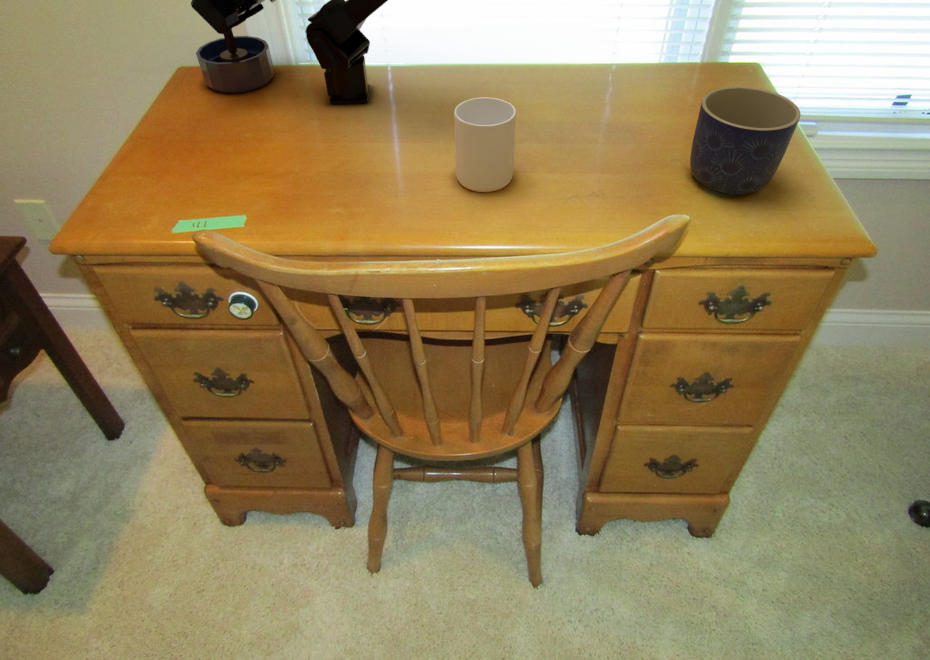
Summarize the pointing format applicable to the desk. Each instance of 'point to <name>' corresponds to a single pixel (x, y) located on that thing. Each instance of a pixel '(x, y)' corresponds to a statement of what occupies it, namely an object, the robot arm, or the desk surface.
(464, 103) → the mug
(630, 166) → the desk surface
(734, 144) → the planter
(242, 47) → the bowl
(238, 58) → the brown plunger
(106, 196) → the desk surface
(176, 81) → the desk surface
